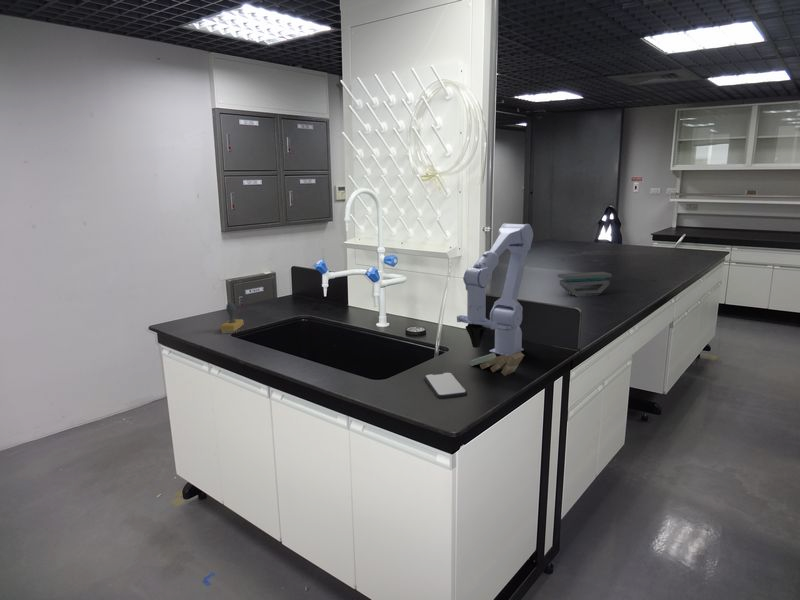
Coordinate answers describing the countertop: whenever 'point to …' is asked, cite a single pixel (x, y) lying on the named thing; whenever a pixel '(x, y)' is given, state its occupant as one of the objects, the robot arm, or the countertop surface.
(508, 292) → the robot arm
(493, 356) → the domino sage
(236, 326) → the rubber stamp
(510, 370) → the maple domino
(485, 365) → the maple domino
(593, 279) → the sharpening stone
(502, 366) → the maple domino
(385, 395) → the countertop surface
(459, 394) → the phone case
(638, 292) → the countertop surface
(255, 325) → the countertop surface
